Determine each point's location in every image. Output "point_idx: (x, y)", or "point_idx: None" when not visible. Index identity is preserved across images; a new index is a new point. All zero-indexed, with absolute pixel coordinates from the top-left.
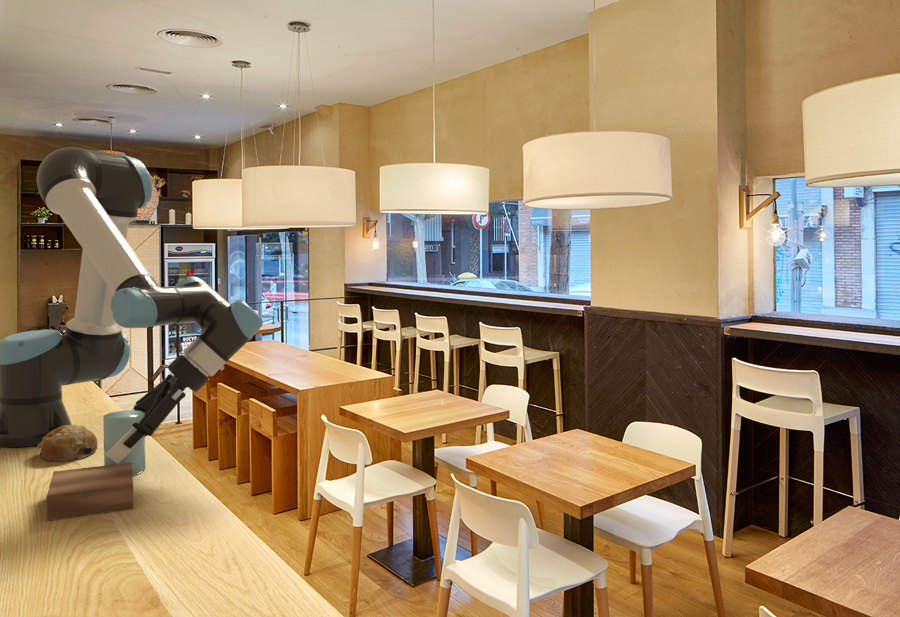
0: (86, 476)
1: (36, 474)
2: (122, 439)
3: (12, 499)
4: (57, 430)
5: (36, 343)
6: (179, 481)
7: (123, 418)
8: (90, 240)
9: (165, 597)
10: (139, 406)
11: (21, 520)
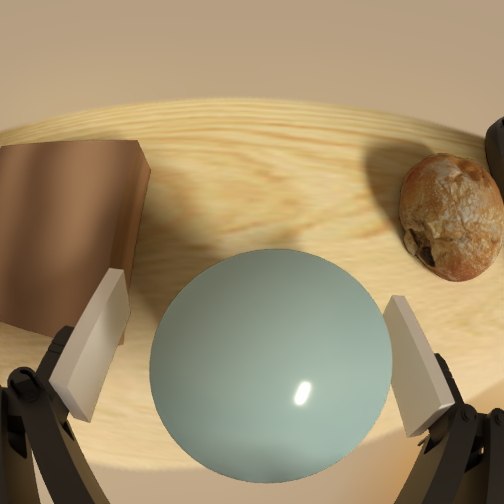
0: (49, 214)
1: (321, 145)
2: (78, 325)
3: (169, 106)
4: (476, 174)
5: None
6: (97, 445)
7: (176, 360)
8: None
9: None
10: (443, 441)
11: (54, 132)
